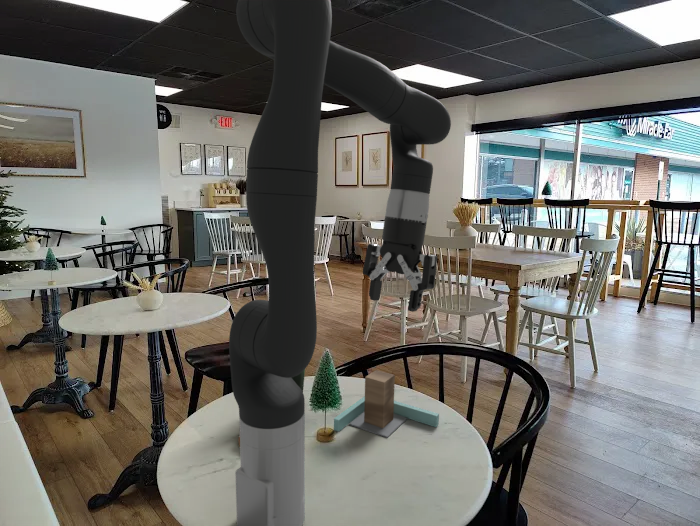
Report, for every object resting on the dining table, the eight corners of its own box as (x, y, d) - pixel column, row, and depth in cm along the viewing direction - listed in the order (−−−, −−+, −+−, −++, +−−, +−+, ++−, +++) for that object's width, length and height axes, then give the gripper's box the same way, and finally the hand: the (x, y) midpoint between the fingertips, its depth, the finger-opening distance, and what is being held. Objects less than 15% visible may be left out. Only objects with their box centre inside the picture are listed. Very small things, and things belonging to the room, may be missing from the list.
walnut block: (382, 428, 95) (384, 382, 94) (364, 421, 98) (365, 377, 96) (393, 419, 99) (394, 374, 97) (374, 413, 101) (376, 369, 100)
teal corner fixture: (409, 457, 86) (410, 444, 86) (333, 429, 95) (333, 418, 95) (438, 424, 98) (439, 413, 97) (368, 403, 107) (368, 393, 106)
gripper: (362, 211, 85) (350, 298, 87) (429, 220, 76) (414, 316, 78) (386, 214, 91) (374, 295, 93) (451, 223, 82) (437, 313, 84)
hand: (393, 305), depth 85 cm, fingers open, 8 cm apart
